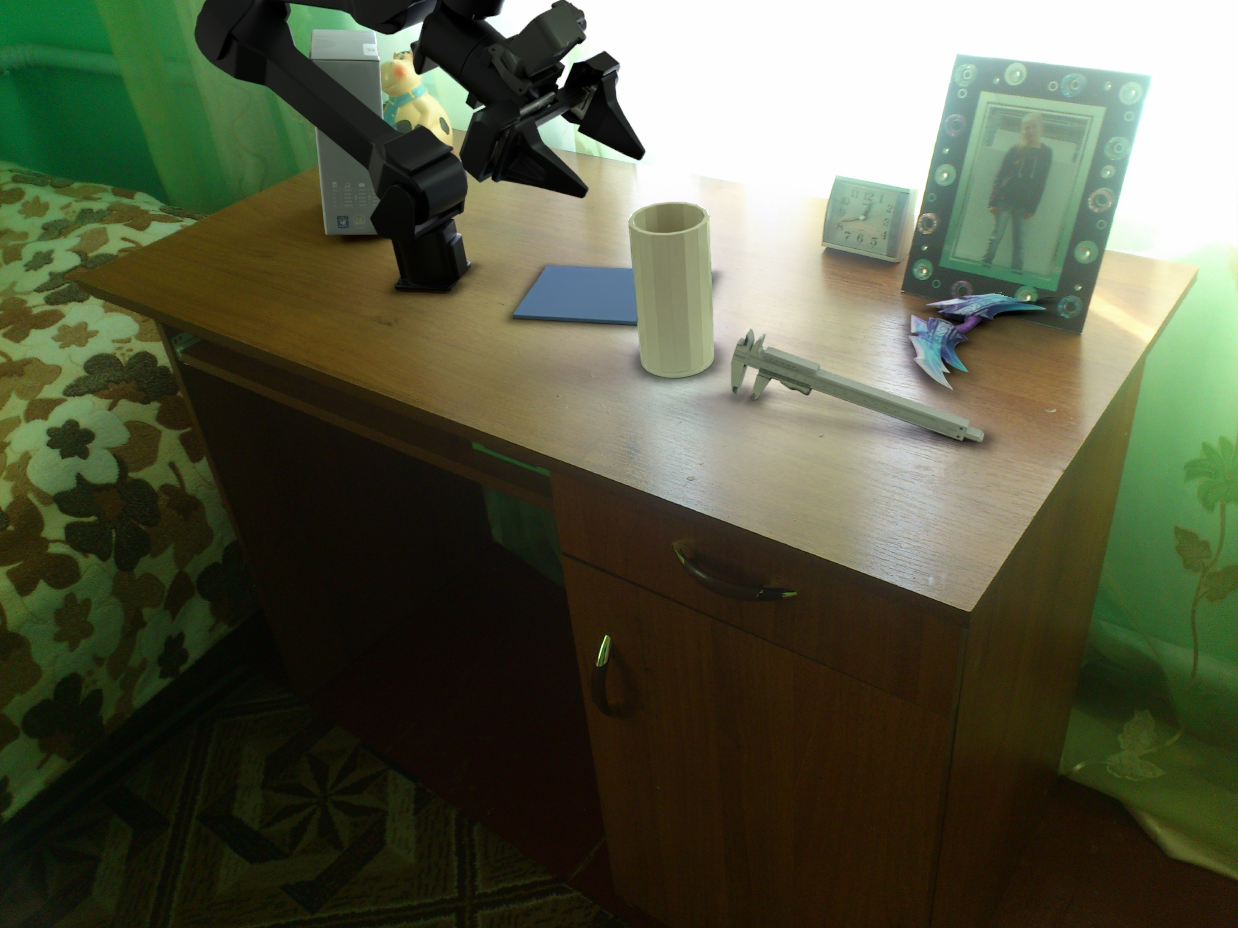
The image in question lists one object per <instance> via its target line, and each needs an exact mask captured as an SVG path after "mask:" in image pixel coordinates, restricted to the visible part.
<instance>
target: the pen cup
mask: <svg viewBox="0 0 1238 928" xmlns="http://www.w3.org/2000/svg"><path fill="white" fill-rule="evenodd" d="M627 225H628V237H629V246H630V248H629V249H630V259H631V269H632V271H633V282H634V294H635V305H636V316H637V325H636V326H637V328H636V329H637V338H638V349H639V357H640V363H641V366H642V367H643V369H644V370H646V371H647V372H648V373H650V374H652V375H654V376H658V377H661V378H667V379H668V378H669V379H680V378H687V377H691V376H695V375H697V374H699V373H702V372H704V371H705V370H706V369H708V368H709V367H710V366H711V365H712V363H713V361H714V358H715V354H714V353H715V334H714V333H715V332H714V303H713V277H712V276H713V272H712V247H711V245H712V243H711V216H710V214H709V212H708V209H707V208H704V207H703V206H701V205H699V204H697V203H692V202H687V201H664V202H658V203H656V202H655V203H652V204H649V205H646V206H643V207H640V208H638V209H637V210H636V211H634V212H632V213H631V215H630V216H629V218H628V220H627Z"/></svg>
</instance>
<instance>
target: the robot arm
mask: <svg viewBox="0 0 1238 928" xmlns="http://www.w3.org/2000/svg"><path fill="white" fill-rule="evenodd" d="M507 2H508V0H205V1H204V2H203V5H202V7H201V9H200V11H199V13H198V14H197V16H196V21H195V27H194V31H193V32H194V33H193V35H194V41H195V44H196V45H197V48H198V49H199V52H200V53H201V54H202V55H203V56H204V58H205V59H206V60H207V61H208V62H209V63H210V64H211V65H213V66H214V67H216V68H217V69H219V70H221V71H222V72H223V73H225V74H227V75H228V76H229V77H231V78H233V79H235V80H238V81H243V82H247V83H249V84H250V83H251V84H256V85H259V86H263V87H264V86H265V87H266V88H267V89H269V90H271V91H272V92H273V93H274V94H275V95H277V96H278V97H279V98H280V99H281V100H282V101H284V102H285V103H287V104H288V105H289V106H290V107H291V108H292V109H293V110H295V111H296V112H297V113H298V114H300V115H301V116H302V117H303V118H304V119H305V120H307V121H308V122H309V123H311V125H313V126H314V128H315V127H317V128H318V129H319V130H320V131H321V132H323V133H324V134H325V135H326V136H328V137H329V138H330V139H331V140H332V141H334V142H335V143H336V144H337V145H338V146H340V147H341V148H342V149H343V150H344V151H346V152H347V153H348V154H349V155H350V156H352V157H353V158H354V159H355V160H356V161H358V162H359V163H360V164H361V165H363V166H364V167H365V168H366V169H367V170H368V172H369V175H370V178H371V181H372V184H373V188H374V191H375V194H376V196H377V197H378V198H379V199H380V202H379V203H378V205H377V207H376V208H375V210H374V212H373V213H372V215H371V216H370V220H371V223H372V225H373V227H374V229H375V231H376V233H377V234H376V235H377V236H378V237H379V238H382V239H387V240H390V241H391V245H392V248H393V253H394V256H395V261H396V264H397V269H398V272H399V277H400V278H399V279H397V281H396V282H395V283H394V285H393V286H394V290H396V291H397V290H398V291H414V292H415V291H416V292H433V293H436V292H437V293H449V292H450V291H451V290H453V289H454V287H455V286H456V285H457V283H459V281H460V280H461V279H462V278H463V276H465V274H466V273H468V271H469V269H470V268H471V267H472V265H471V261H469V260H468V259H467V256H466V250H465V245H464V240H463V236H462V233H458V230H457V225H456V219H455V217H456V216H458V215H462V214H464V212H465V204H466V197H467V195H468V189H469V183H468V175H467V173H468V174H469V175H470V176H471V177H473V179H474V180H476V181H477V182H478V183H479V184H481V183H483V182H484V181H486V180H488V179H490V180H491V181H493V182H494V183H499V182H507V183H513V184H517V185H522V186H528V187H534V188H538V189H541V190H547V191H550V192H555V193H558V194H561V195H566V196H570V197H574V198H577V199H584V198H586V196H587V195H588V193H589V186H588V185H587V184H586V183H585V181H583V180H582V178H581V177H580V176H579V175H578V174H577V173H576V172H575V171H574V170H573V169H572V168H571V167H570V166H569V165H568V164H567V163H566V162H565V161H564V160H563V159H562V158H560V156H558V155H557V154H556V153H555V152H554V151H553V150H552V149H551V148H550V147H549V146H548V145H547V144H546V143H545V141H544V140H543V139H542V137H541V133H540V131H539V127H541V126H543V125H545V124H547V123H548V122H550V121H553V120H554V119H556V118H557V117H559V116H560V117H562V118H563V119H564V120H565V121H566V122H568V123H569V124H573V125H577V126H578V128H577V132H578V133H579V134H581V135H584V136H586V137H588V138H589V139H592V140H594V141H596V142H598V143H600V144H602V145H604V146H605V147H608V148H609V149H611V150H613V151H616V152H618V153H620V154H621V155H624V156H626V157H629V158H631V159H633V160H636V161H642V160H643V158H644V156H645V155H646V152H647V151H646V148H645V147H644V145H643V143H642V142H641V140H640V139H639V137H638V135H637V134H636V132H635V129H634V128H633V127H632V125H631V123H630V122H629V120H628V118H627V117H626V115H625V113H624V111H623V108H622V107H621V104H620V102H619V100H618V96H617V85H618V83H619V80H620V77H619V72H620V69H621V67H622V66H621V63H620V61H618V60H616V58H615V57H613V56H612V55H610V53H609V52H608V51H607V50H602V51H595V52H593V53H590V54H589V55H586V56H584V57H582V58H581V59H578V60H576V61H574V62H573V63H572V65H571V67H570V70H569V72H568V75H567V77H566V79H565V82H564V85H563V86H562V87H560V86H559V84H558V83H557V82H558V79H560V78H561V77H562V76H563V73H564V71H565V69H566V65H565V64H564V63H563V62H562V60H563V59H564V58H565V57H566V56H567V55H569V54H570V52H571V51H572V50H573V49H575V47H576V46H577V45H582V44H583V43H584V42H585V41H586V39H588V36H587V35H586V33H585V31H586V30H587V27H588V26H587V25H588V23H587V19H586V18H585V17H586V15H585V12H584V10H582V8H581V9H580V8H578V7H577V6H575V5H573V3H572V2H569V1H567V0H556V1H553V2H552V3H551V5H550V7H551V8H550V9H548V10H545V11H543V12H541V13H539V14H538V15H536V16H535V17H534V18H532V19H531V20H530V21H529V22H528V23H527V24H526V25H525V26H524V28H523V29H521V31H520V32H519V33H516V34H513V35H512V36H510V37H507V36H506V35H505V34H503V33H502V32H501V31H499V30H498V29H497V28H496V27H494V25H493V24H491V23H490V22H489V21H487V20H486V19H488V18H492V17H497V16H500V15H501V14H503V12H504V11H505V9H506V6H507V4H508V3H507ZM291 5H299V6H304V7H305V6H306V7H312V8H317V9H318V8H320V9H326V10H332V11H339V12H343V13H346V14H348V15H349V16H351V18H352V19H353V21H354V22H355V23H356V24H357V25H359V26H361V27H363V28H367V29H369V30H370V31H374V32H375V33H376V32H377V33H380V34H381V35H386V36H391V35H392V36H393V35H395V34H399V33H401V32H404V31H406V30H409V29H411V28H413V27H417V26H419V25H421V29H420V32H419V36H418V40H415V41H412V42H411V43H410V44H409V48H410V50H411V52H412V66H413V71H414V73H415V75H416V76H422V75H424V74H426V73H428V72H430V71H433V70H435V69H438V68H440V69H441V70H442V71H443V72H444V73H445V74H446V75H447V76H448V77H450V78H451V79H452V80H454V81H455V82H456V83H457V84H458V85H459V86H461V88H463V89H464V90H465V91H466V92H467V93H468V94H467V96H466V99H465V104H466V105H467V106H468V107H469V108H470V109H472V110H473V111H474V112H473V113H472V115H471V118H470V121H469V124H468V126H467V130H466V132H465V135H464V138H463V141H462V144H461V146H460V150H459V152H458V156H457V155H456V154H455V153H453V151H454V146H452V145H450V144H447V143H445V142H444V141H442V140H441V139H440V138H439V137H438V136H436V134H435V133H434V132H433V131H432V130H431V129H430V128H427V127H425V126H424V125H420V126H417V127H416V128H413V129H411V130H409V131H407V132H402V131H399V130H397V129H396V128H394V127H393V126H392V125H391V124H389V123H388V122H387V121H386V120H384V118H383V119H382V118H381V117H379V116H378V115H377V114H376V113H375V112H373V111H372V110H371V109H370V108H368V107H367V106H366V105H365V104H364V103H362V102H361V101H360V100H359V99H357V98H356V97H355V96H354V95H353V94H351V93H350V92H349V91H348V90H346V89H345V88H344V87H343V86H342V85H340V84H339V83H338V82H337V81H336V80H334V79H333V78H332V77H331V76H329V75H328V74H327V73H326V72H325V71H323V70H322V69H321V68H320V67H318V66H317V65H316V64H315V63H314V62H312V61H311V60H310V59H309V57H308V56H306V55H305V54H304V53H303V52H301V51H300V50H299V48H297V46H296V42H295V40H294V36H293V32H292V28H291V25H290V23H288V20H289V18H290V15H291V13H292V7H291ZM482 106H483V107H482ZM480 107H482V108H480ZM479 108H480V109H479ZM477 109H478V110H477ZM475 110H477V111H475Z"/></svg>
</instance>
